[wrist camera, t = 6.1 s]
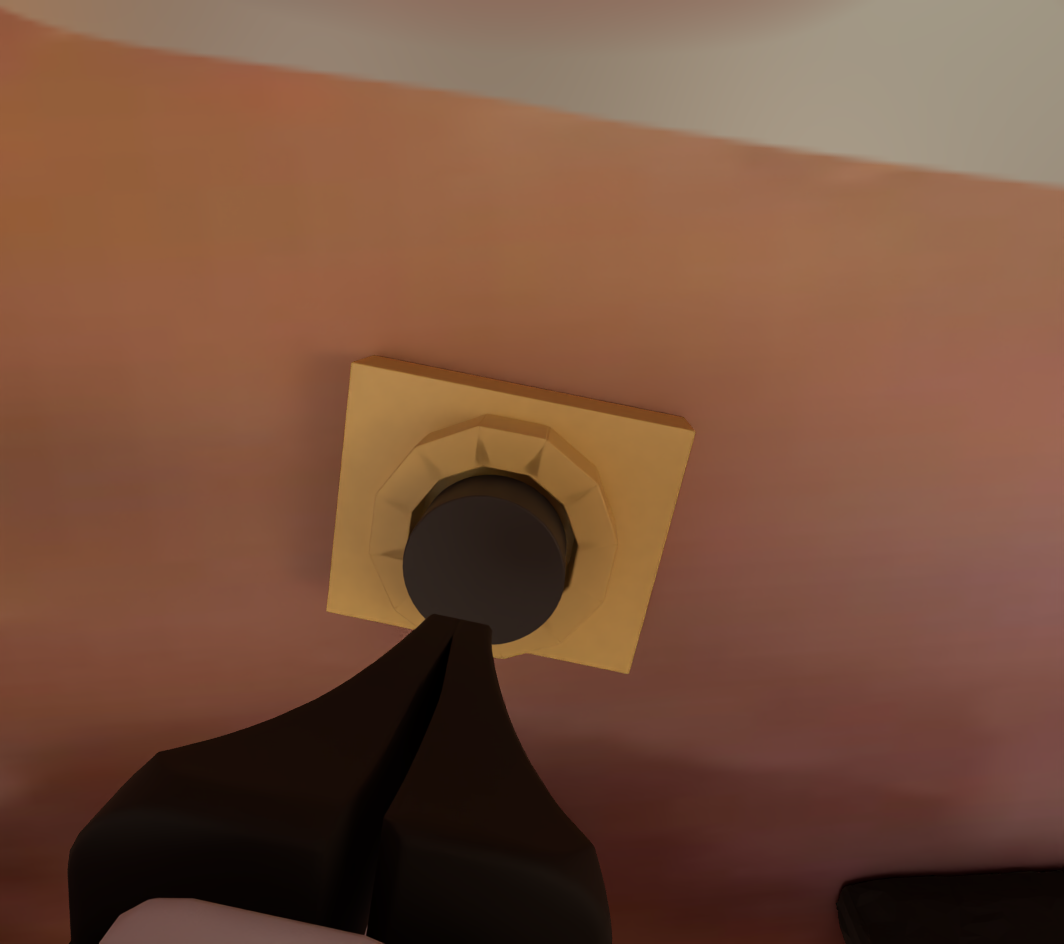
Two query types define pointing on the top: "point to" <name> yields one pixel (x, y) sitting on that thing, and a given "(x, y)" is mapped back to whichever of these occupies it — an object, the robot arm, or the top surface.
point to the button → (488, 556)
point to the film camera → (955, 910)
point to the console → (517, 452)
